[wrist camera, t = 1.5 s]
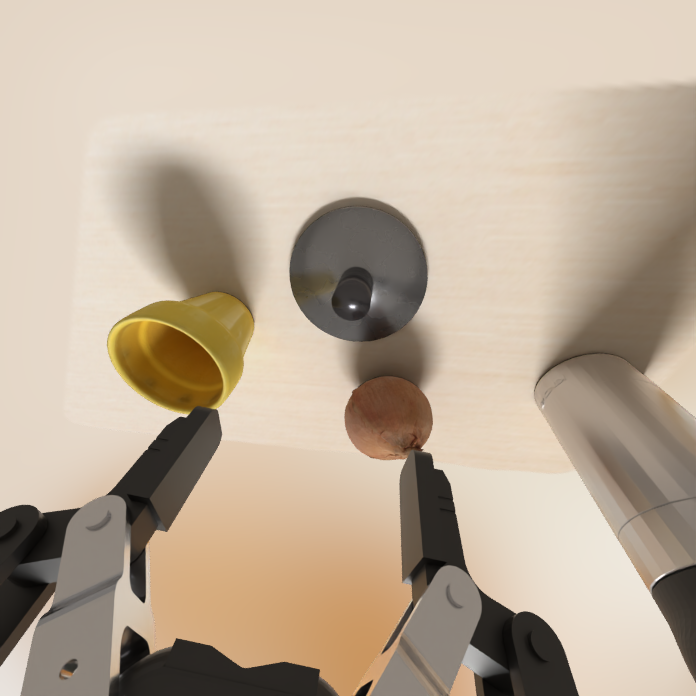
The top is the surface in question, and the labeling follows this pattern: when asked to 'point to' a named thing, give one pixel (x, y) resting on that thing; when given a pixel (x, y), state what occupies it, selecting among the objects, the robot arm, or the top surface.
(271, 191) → the top surface
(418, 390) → the onion
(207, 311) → the plant pot
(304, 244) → the lid
